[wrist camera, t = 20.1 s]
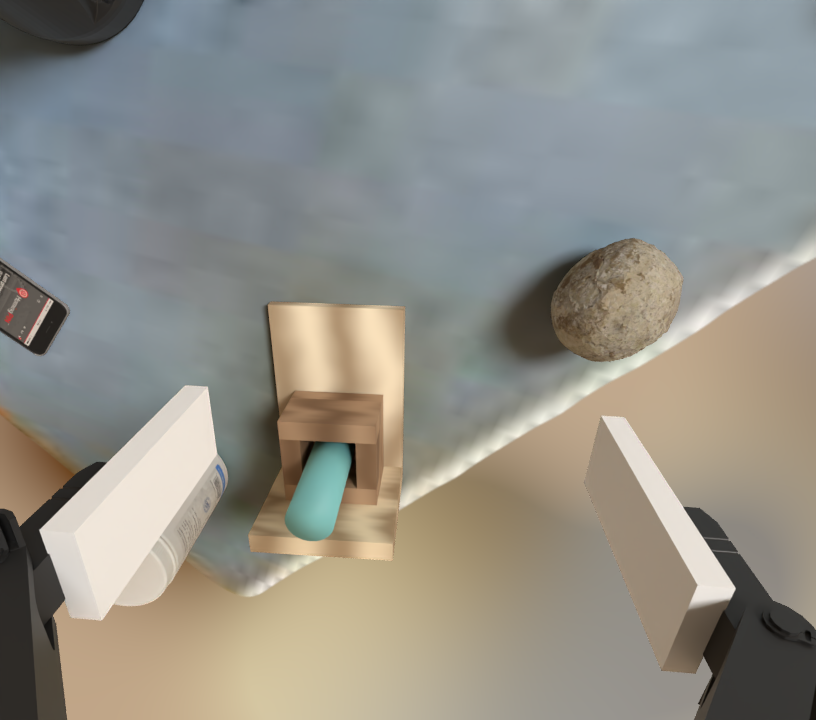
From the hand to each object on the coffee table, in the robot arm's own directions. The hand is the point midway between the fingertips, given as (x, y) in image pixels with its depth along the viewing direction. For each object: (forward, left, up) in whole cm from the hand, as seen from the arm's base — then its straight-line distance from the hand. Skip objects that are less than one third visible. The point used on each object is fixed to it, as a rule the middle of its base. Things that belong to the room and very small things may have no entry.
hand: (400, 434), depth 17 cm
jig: (-8, -15, -30) cm, 35 cm away
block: (-8, -19, -29) cm, 36 cm away
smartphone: (-43, -5, -31) cm, 54 cm away
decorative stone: (+16, -3, -31) cm, 35 cm away
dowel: (-8, -19, -28) cm, 35 cm away
